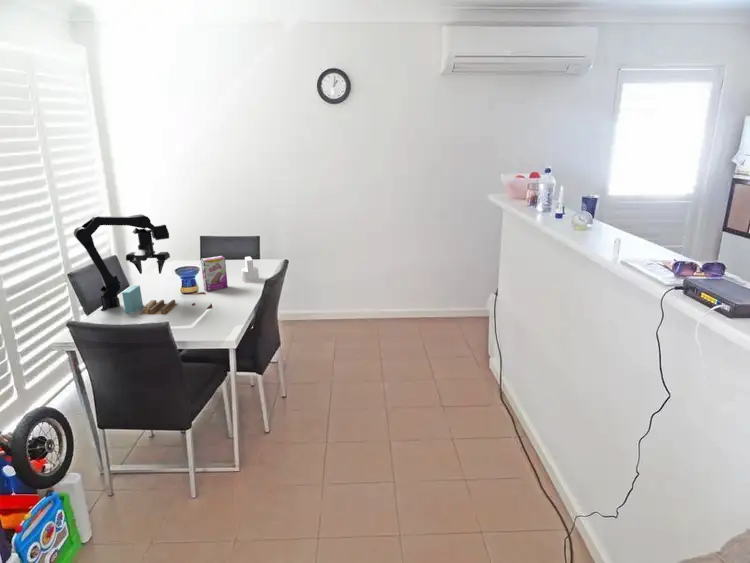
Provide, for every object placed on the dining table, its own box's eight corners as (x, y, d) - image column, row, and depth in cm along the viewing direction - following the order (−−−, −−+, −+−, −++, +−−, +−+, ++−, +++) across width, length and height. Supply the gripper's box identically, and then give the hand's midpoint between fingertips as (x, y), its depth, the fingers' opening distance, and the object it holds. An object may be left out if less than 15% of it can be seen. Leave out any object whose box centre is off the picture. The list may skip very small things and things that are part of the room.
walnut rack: (139, 316, 221) (138, 310, 220) (153, 305, 235) (152, 299, 234) (166, 316, 221) (165, 309, 220) (179, 305, 234) (178, 299, 233)
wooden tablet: (213, 309, 231) (213, 306, 230) (190, 312, 227) (190, 309, 226) (207, 292, 254) (206, 289, 253) (186, 295, 250) (185, 292, 250)
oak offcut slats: (142, 312, 223) (141, 307, 222) (152, 305, 232) (151, 300, 232) (148, 312, 223) (147, 307, 222) (158, 305, 232) (157, 299, 232)
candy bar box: (207, 292, 253) (203, 260, 248) (203, 289, 257) (200, 258, 252) (228, 287, 259) (225, 257, 254) (225, 285, 263) (221, 255, 258)
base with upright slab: (260, 281, 270) (258, 259, 266) (243, 283, 266) (241, 261, 263) (257, 276, 278) (255, 255, 274) (241, 278, 274) (239, 257, 271)
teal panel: (125, 313, 223) (122, 292, 220) (136, 306, 233) (132, 285, 230) (132, 313, 223) (129, 292, 220) (143, 306, 233) (139, 285, 230)
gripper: (117, 245, 227) (122, 278, 232) (158, 245, 227) (162, 278, 231) (129, 240, 238) (134, 272, 242) (168, 240, 237) (172, 271, 242)
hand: (150, 273), depth 239 cm, fingers open, 9 cm apart
